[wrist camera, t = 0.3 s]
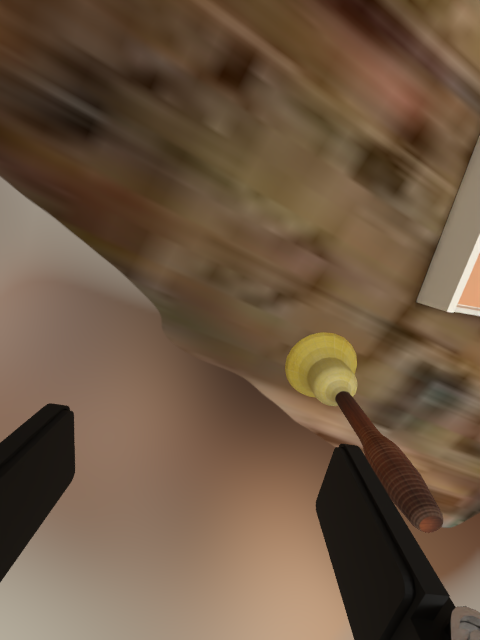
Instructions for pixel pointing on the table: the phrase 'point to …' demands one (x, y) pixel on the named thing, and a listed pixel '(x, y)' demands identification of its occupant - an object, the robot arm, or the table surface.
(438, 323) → the table surface
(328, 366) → the handbell
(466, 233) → the rack
